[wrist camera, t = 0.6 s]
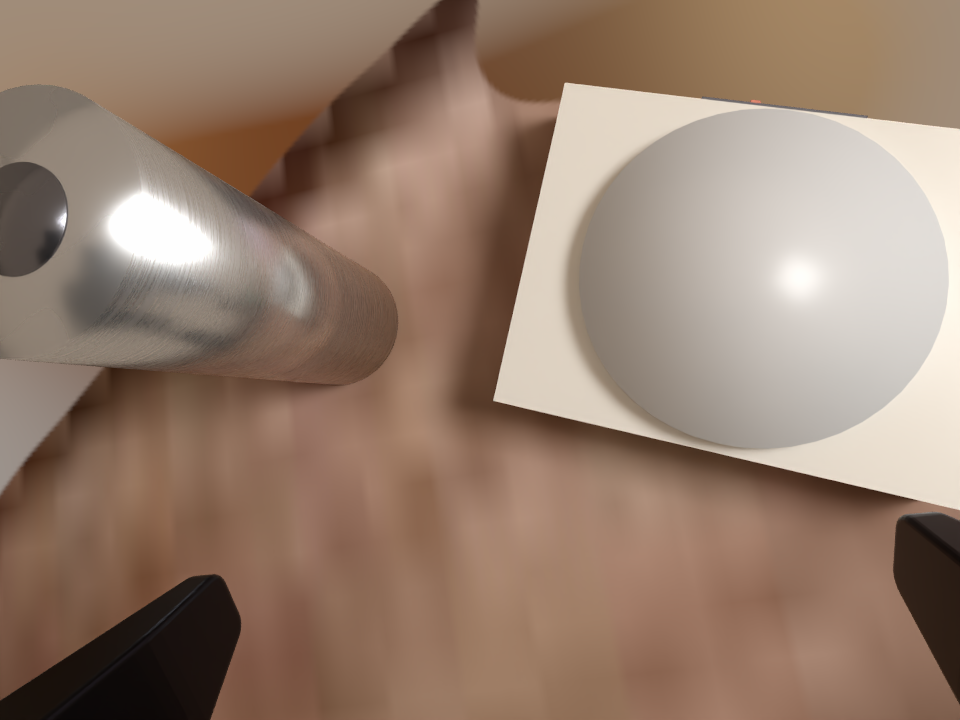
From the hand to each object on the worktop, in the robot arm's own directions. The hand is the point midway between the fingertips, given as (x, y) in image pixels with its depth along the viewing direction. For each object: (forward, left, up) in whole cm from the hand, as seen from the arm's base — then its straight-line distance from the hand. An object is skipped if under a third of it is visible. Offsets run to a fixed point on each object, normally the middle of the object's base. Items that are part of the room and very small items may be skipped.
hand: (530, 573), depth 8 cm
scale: (+7, -4, -13) cm, 16 cm away
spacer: (+3, +10, -13) cm, 17 cm away
